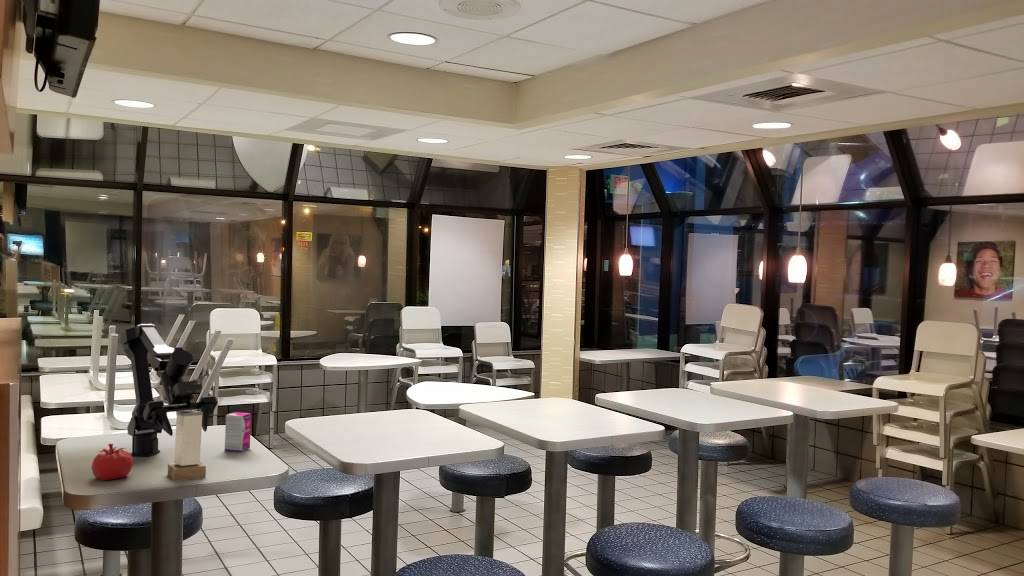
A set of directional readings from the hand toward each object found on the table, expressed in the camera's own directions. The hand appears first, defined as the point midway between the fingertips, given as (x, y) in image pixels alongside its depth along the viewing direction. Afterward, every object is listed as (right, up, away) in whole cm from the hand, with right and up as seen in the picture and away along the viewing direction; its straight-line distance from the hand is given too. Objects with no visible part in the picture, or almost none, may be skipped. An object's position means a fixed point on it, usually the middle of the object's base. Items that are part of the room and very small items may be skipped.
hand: (189, 432), depth 212 cm
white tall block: (-1, -9, +1) cm, 9 cm away
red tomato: (-20, -12, -2) cm, 23 cm away
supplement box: (+2, -12, +33) cm, 35 cm away
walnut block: (-1, -12, +1) cm, 13 cm away
